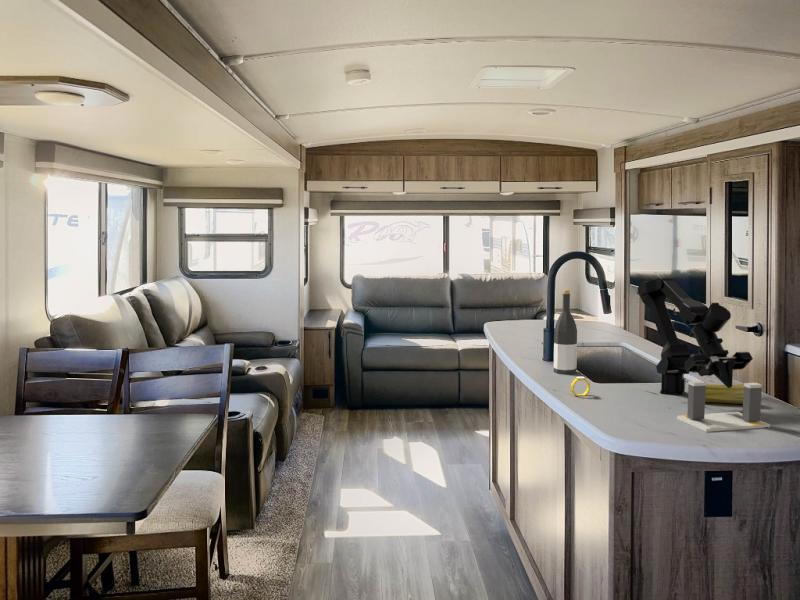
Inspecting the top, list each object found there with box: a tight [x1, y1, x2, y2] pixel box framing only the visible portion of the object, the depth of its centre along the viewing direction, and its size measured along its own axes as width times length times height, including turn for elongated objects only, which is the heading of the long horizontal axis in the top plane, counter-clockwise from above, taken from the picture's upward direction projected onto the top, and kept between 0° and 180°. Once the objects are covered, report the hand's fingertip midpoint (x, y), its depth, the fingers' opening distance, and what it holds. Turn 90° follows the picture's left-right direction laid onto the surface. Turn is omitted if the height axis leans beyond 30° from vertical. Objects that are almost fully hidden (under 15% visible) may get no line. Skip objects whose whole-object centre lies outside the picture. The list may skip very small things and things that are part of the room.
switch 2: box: [742, 382, 763, 422], centre depth 196 cm, size 2×4×10 cm
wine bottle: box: [553, 289, 578, 375], centre depth 263 cm, size 8×8×30 cm
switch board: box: [677, 411, 771, 433], centre depth 198 cm, size 13×19×1 cm
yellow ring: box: [570, 376, 591, 397], centre depth 230 cm, size 6×3×6 cm, turn 103°
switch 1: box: [686, 380, 707, 420], centre depth 199 cm, size 2×4×10 cm
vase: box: [705, 383, 744, 405], centre depth 219 cm, size 6×6×14 cm
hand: (730, 387), depth 205 cm, fingers closed
